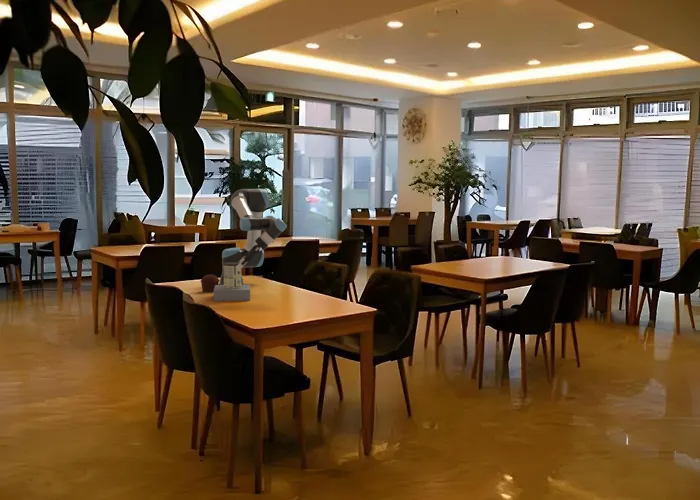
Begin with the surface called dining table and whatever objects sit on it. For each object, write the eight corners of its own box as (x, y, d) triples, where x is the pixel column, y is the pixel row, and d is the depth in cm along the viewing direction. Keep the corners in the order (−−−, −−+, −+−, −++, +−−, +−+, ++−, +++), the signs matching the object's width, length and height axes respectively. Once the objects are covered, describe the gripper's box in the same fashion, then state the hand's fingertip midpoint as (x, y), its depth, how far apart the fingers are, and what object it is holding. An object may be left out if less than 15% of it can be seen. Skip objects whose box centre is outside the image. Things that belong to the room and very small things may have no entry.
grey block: (215, 295, 390) (215, 285, 390) (250, 294, 393) (250, 284, 393) (213, 300, 370) (213, 290, 370) (250, 300, 373) (250, 289, 373)
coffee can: (226, 285, 387) (226, 261, 386) (243, 286, 386) (243, 262, 385) (221, 288, 377) (221, 263, 376) (238, 288, 376) (238, 264, 375)
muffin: (214, 293, 397) (214, 276, 396) (197, 292, 400) (197, 275, 399) (222, 290, 409) (222, 274, 408) (205, 289, 411) (205, 273, 410)
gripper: (269, 247, 369) (242, 274, 368) (268, 243, 393) (243, 268, 393) (259, 237, 367) (232, 265, 367) (259, 234, 392) (233, 260, 391)
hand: (237, 267), depth 380 cm, fingers open, 13 cm apart
